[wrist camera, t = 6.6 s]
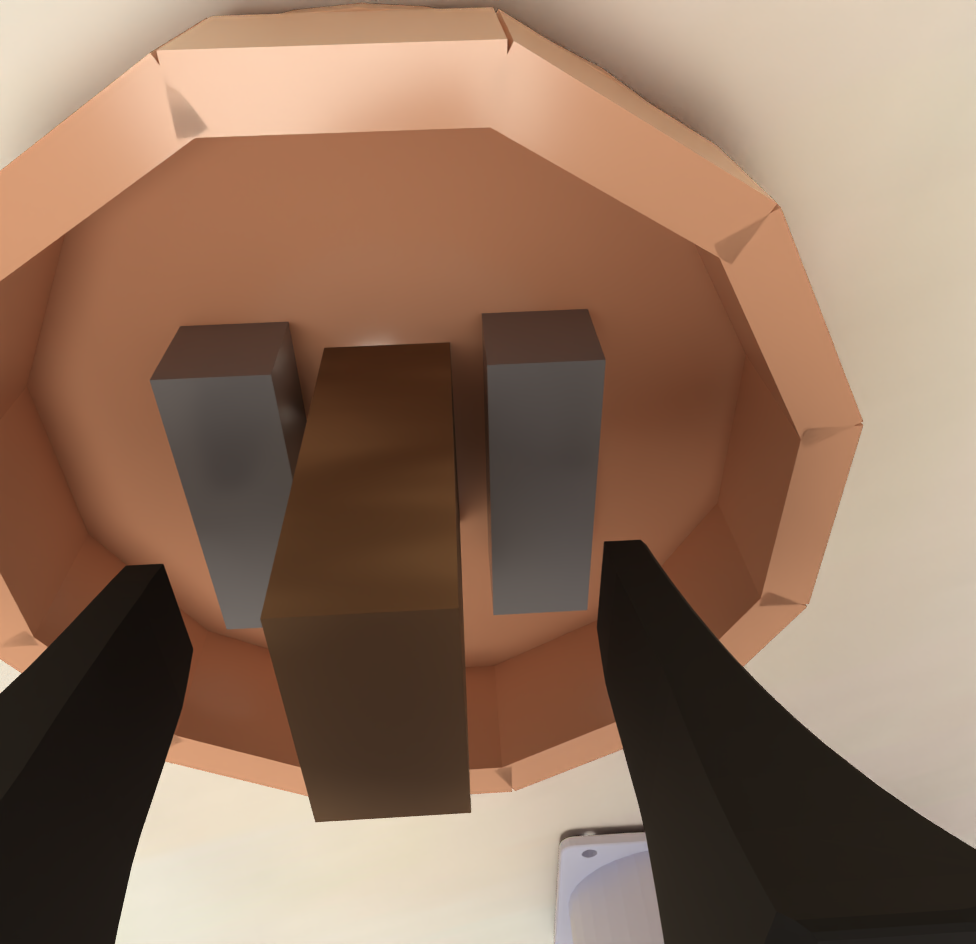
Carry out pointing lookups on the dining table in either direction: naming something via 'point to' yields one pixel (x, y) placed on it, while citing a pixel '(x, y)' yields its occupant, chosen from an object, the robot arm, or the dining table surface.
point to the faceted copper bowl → (406, 320)
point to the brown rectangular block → (374, 590)
